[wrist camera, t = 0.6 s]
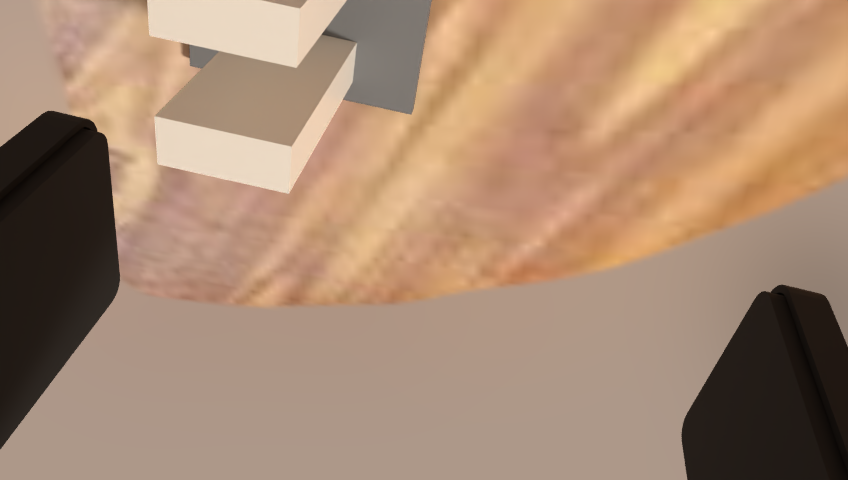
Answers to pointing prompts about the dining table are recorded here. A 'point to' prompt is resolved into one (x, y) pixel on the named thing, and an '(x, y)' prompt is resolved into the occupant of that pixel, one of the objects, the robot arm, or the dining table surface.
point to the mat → (374, 50)
